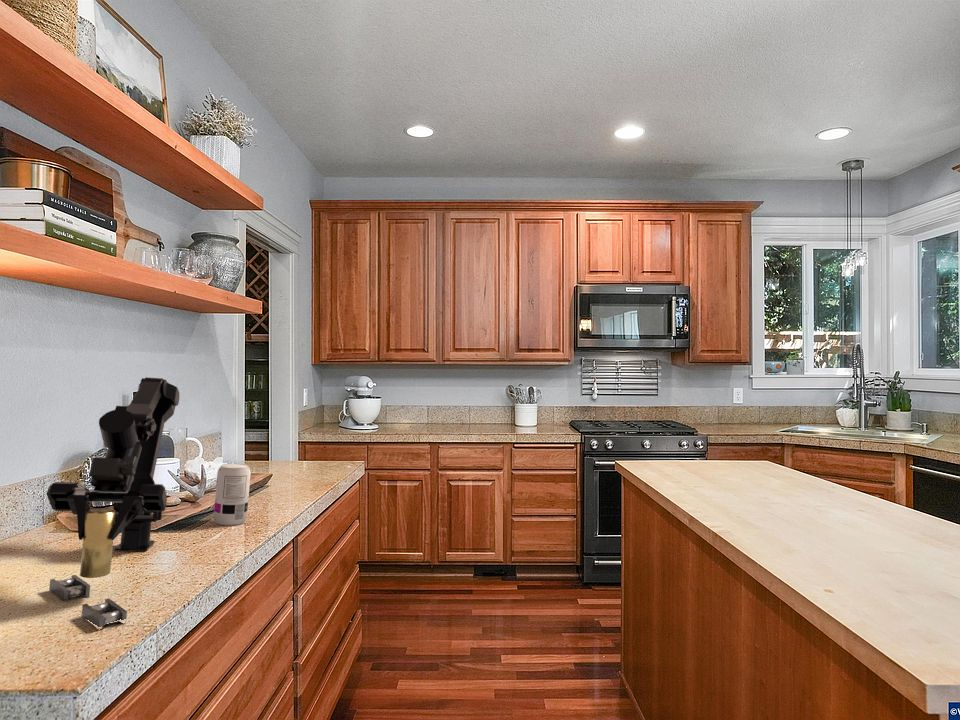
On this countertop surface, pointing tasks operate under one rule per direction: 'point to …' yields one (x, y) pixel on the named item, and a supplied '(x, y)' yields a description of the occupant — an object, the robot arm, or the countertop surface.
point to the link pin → (97, 543)
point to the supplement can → (232, 494)
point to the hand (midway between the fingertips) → (96, 538)
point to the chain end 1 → (69, 588)
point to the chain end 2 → (103, 613)
